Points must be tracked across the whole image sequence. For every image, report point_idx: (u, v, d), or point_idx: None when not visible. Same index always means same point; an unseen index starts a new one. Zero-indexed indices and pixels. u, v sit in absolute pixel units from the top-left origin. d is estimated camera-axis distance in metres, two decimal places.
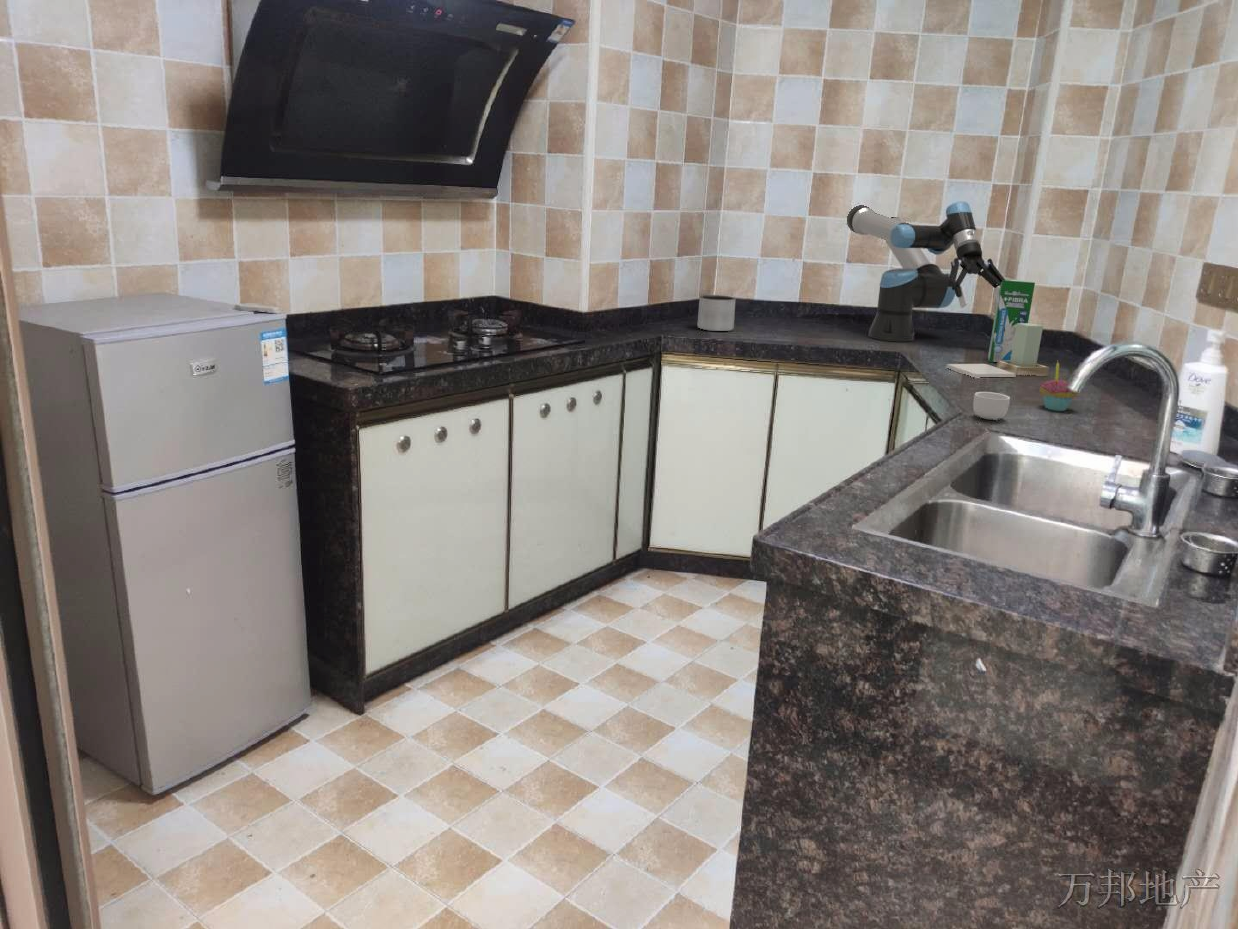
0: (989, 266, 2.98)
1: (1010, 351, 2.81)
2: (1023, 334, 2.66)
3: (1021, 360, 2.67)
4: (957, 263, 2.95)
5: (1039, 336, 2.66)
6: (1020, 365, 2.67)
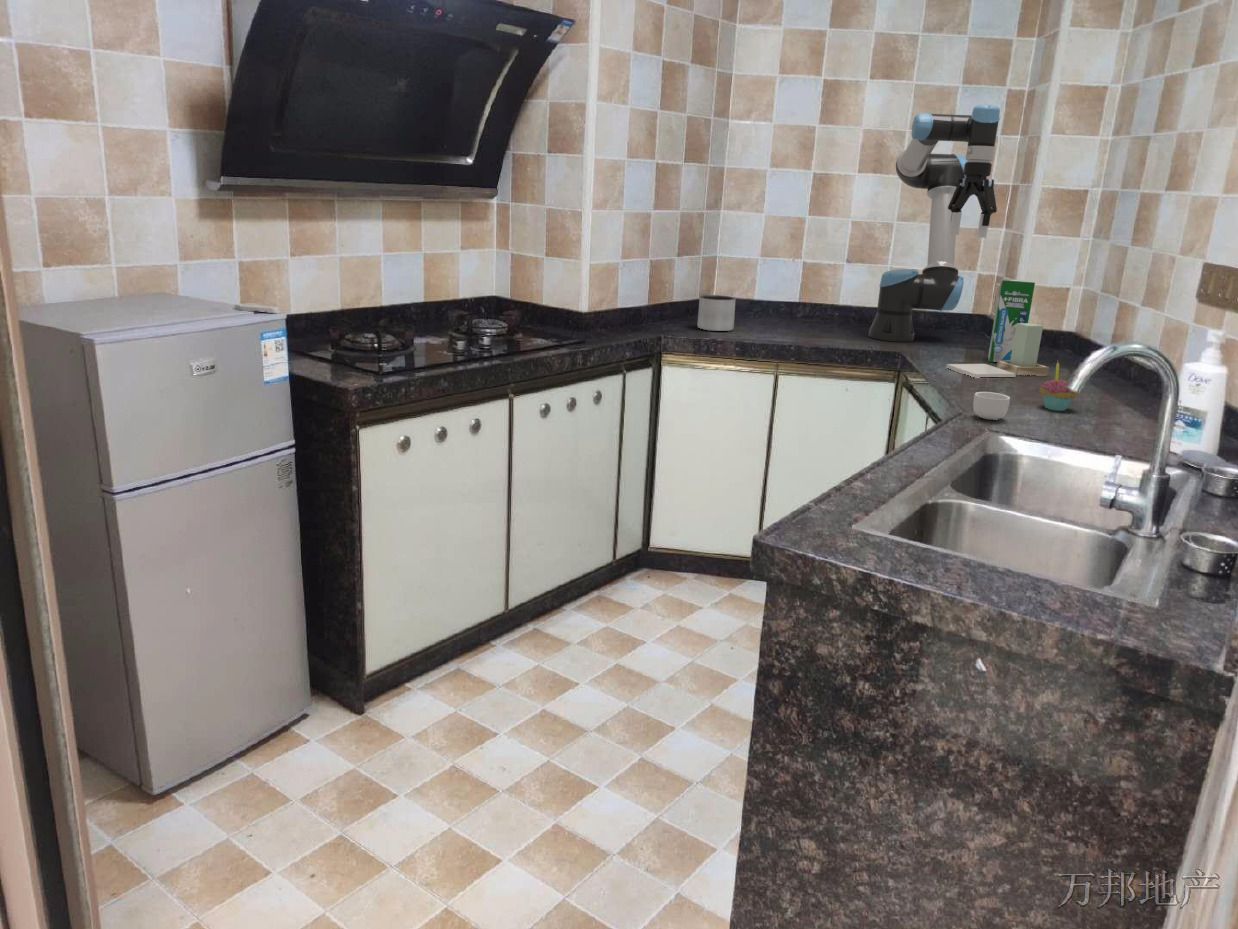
0: None
1: (1010, 351, 2.81)
2: (1023, 334, 2.66)
3: (1021, 360, 2.67)
4: (958, 185, 2.80)
5: (1039, 336, 2.66)
6: (1020, 365, 2.67)
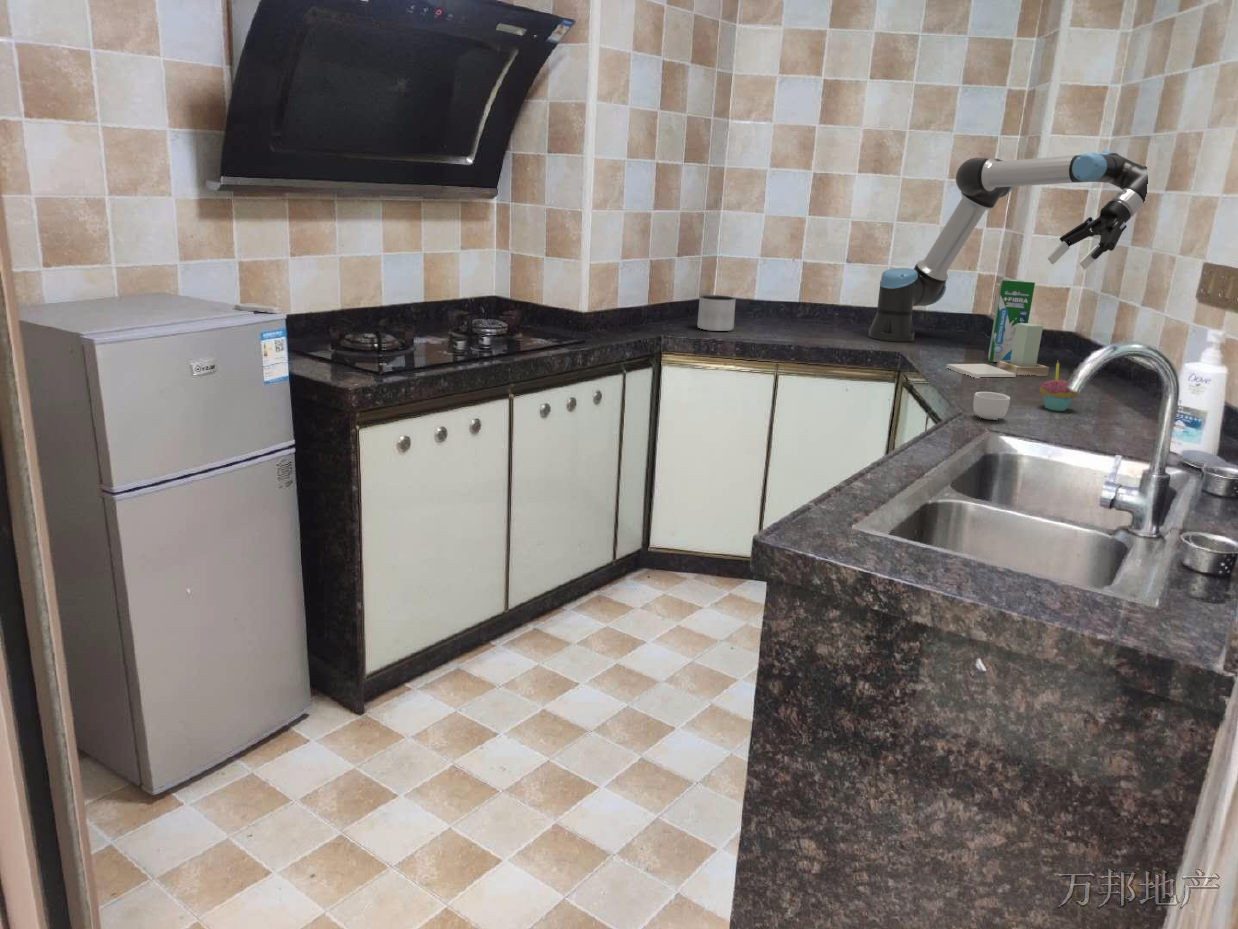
0: None
1: (1010, 351, 2.81)
2: (1023, 334, 2.66)
3: (1021, 360, 2.67)
4: (1085, 222, 2.69)
5: (1039, 336, 2.66)
6: (1020, 365, 2.67)
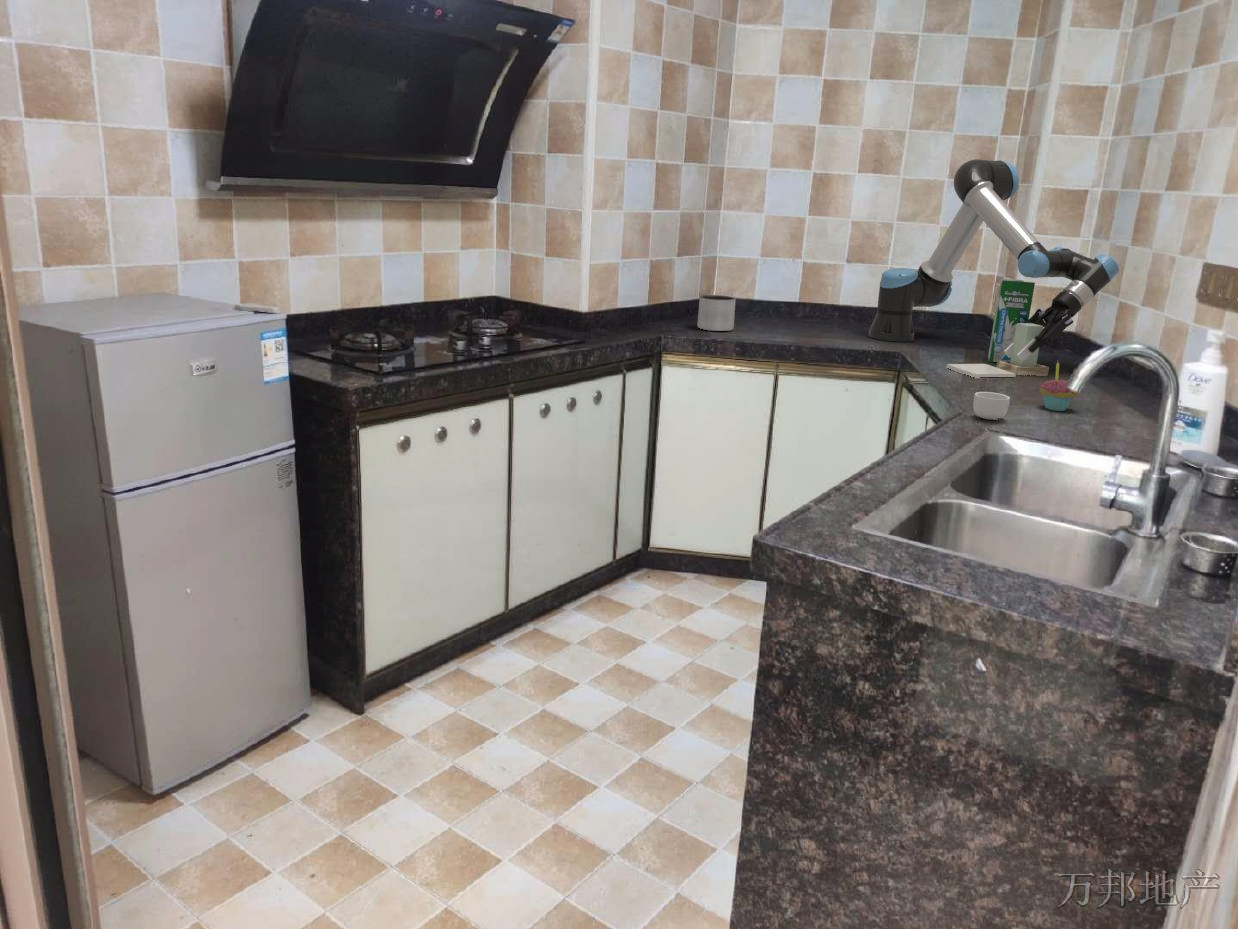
0: None
1: None
2: (1023, 334, 2.66)
3: None
4: (1036, 313, 2.72)
5: None
6: (1020, 365, 2.67)
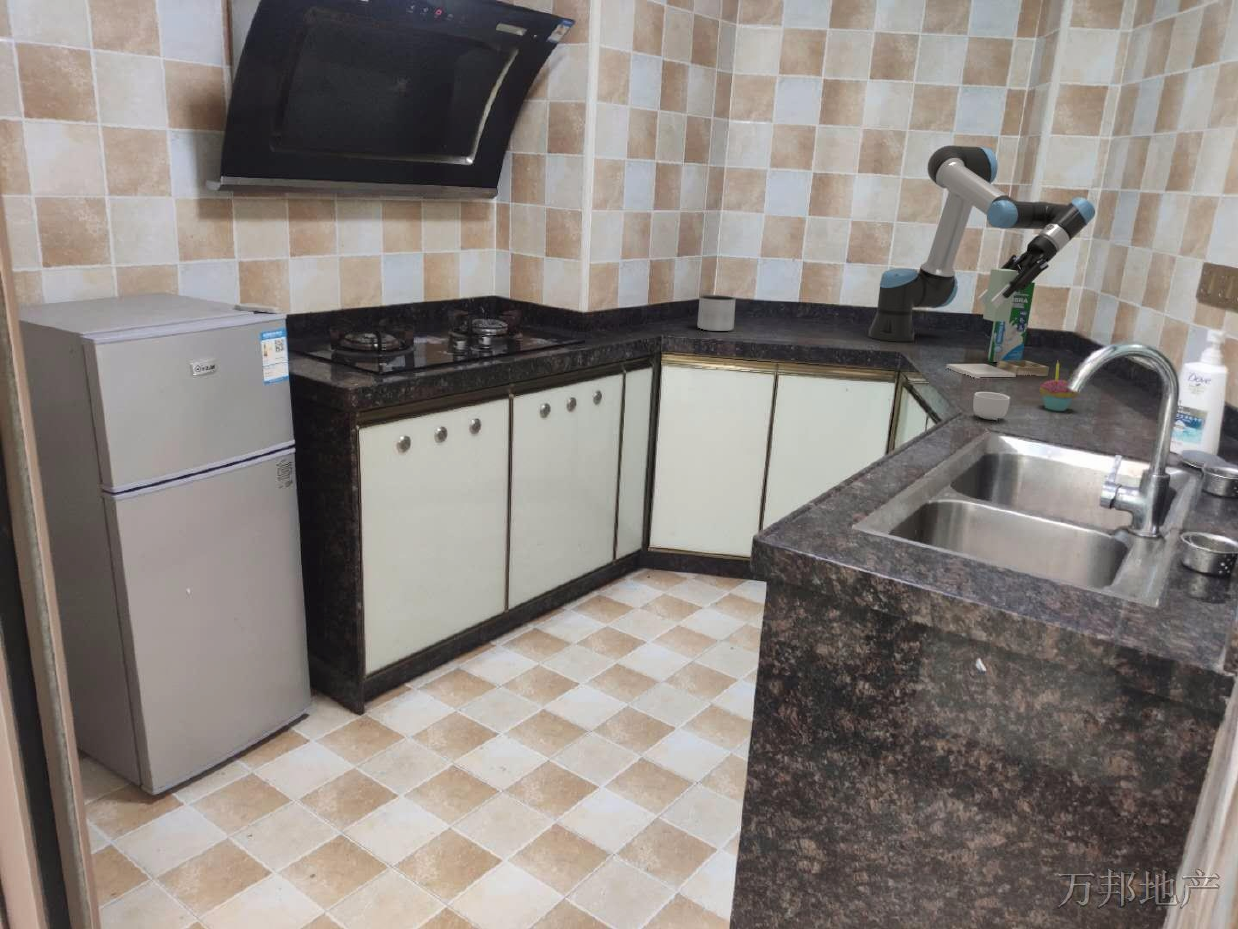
0: None
1: (1010, 351, 2.81)
2: (997, 279, 2.58)
3: None
4: (1010, 259, 2.65)
5: None
6: (994, 312, 2.60)
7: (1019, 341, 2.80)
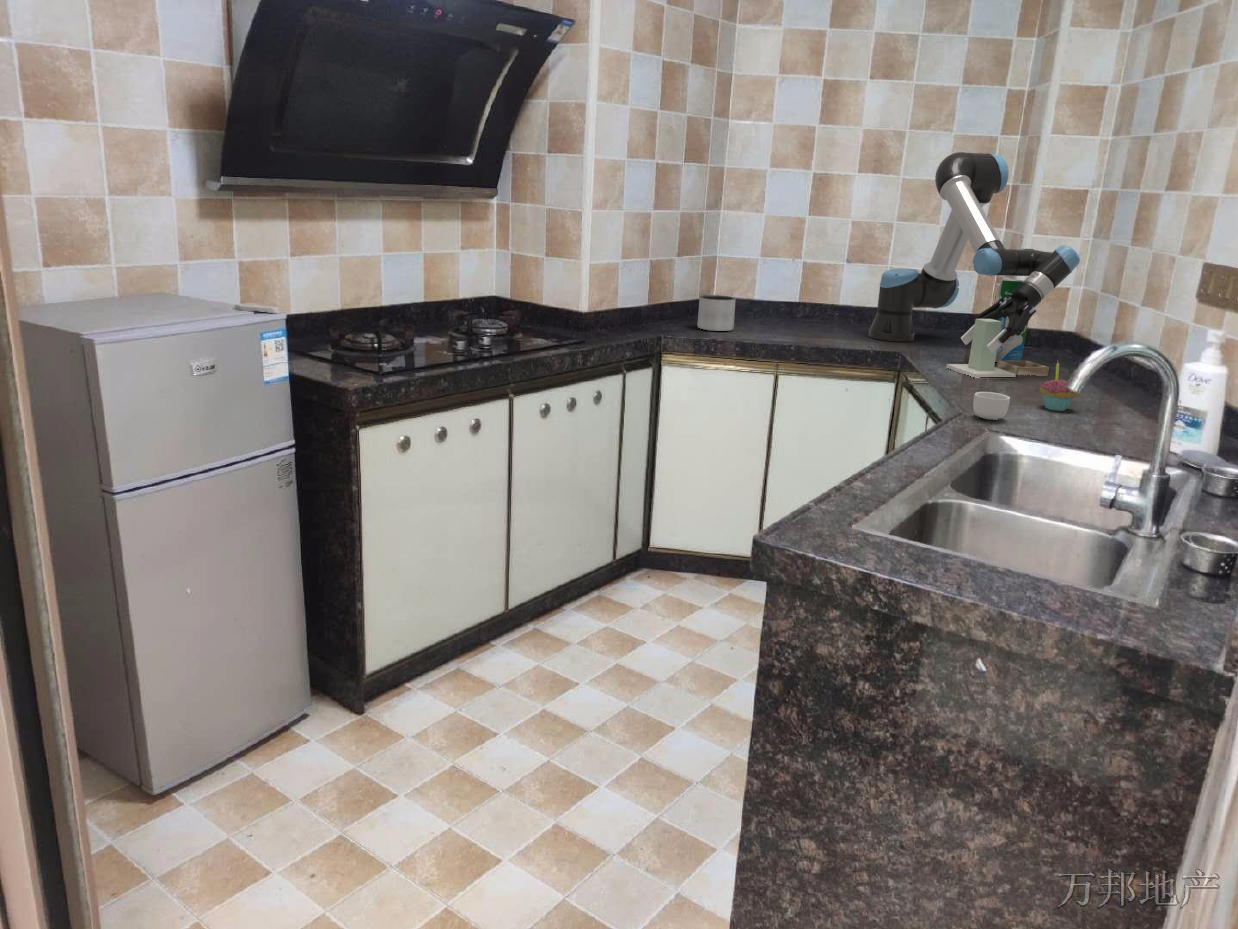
0: None
1: (1010, 351, 2.81)
2: (982, 330, 2.62)
3: (980, 356, 2.63)
4: (997, 303, 2.69)
5: (998, 332, 2.62)
6: (979, 361, 2.63)
7: (1019, 341, 2.80)
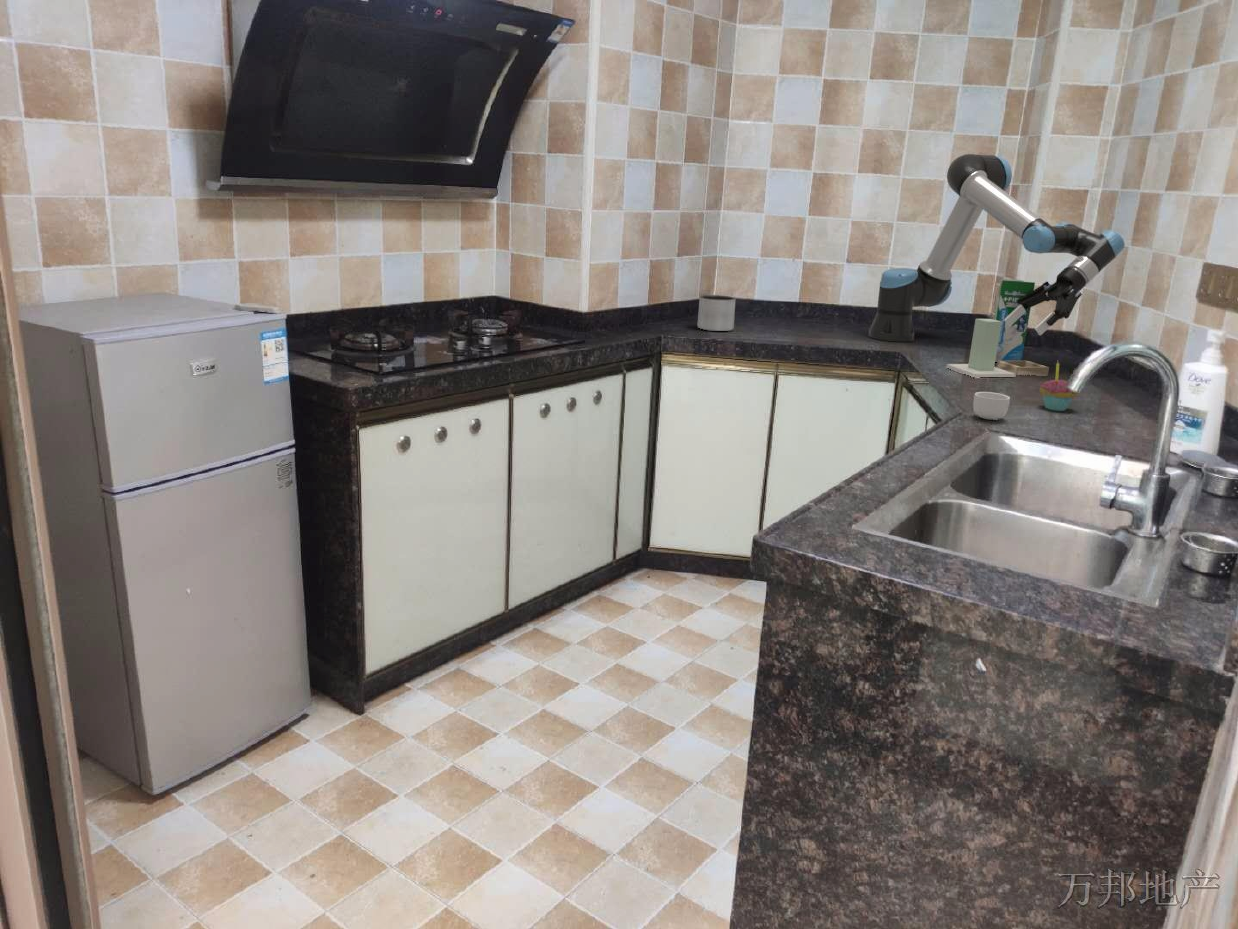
0: None
1: (1010, 351, 2.81)
2: (982, 330, 2.62)
3: (980, 356, 2.63)
4: (1041, 286, 2.71)
5: (998, 332, 2.62)
6: (979, 361, 2.63)
7: (1019, 341, 2.80)
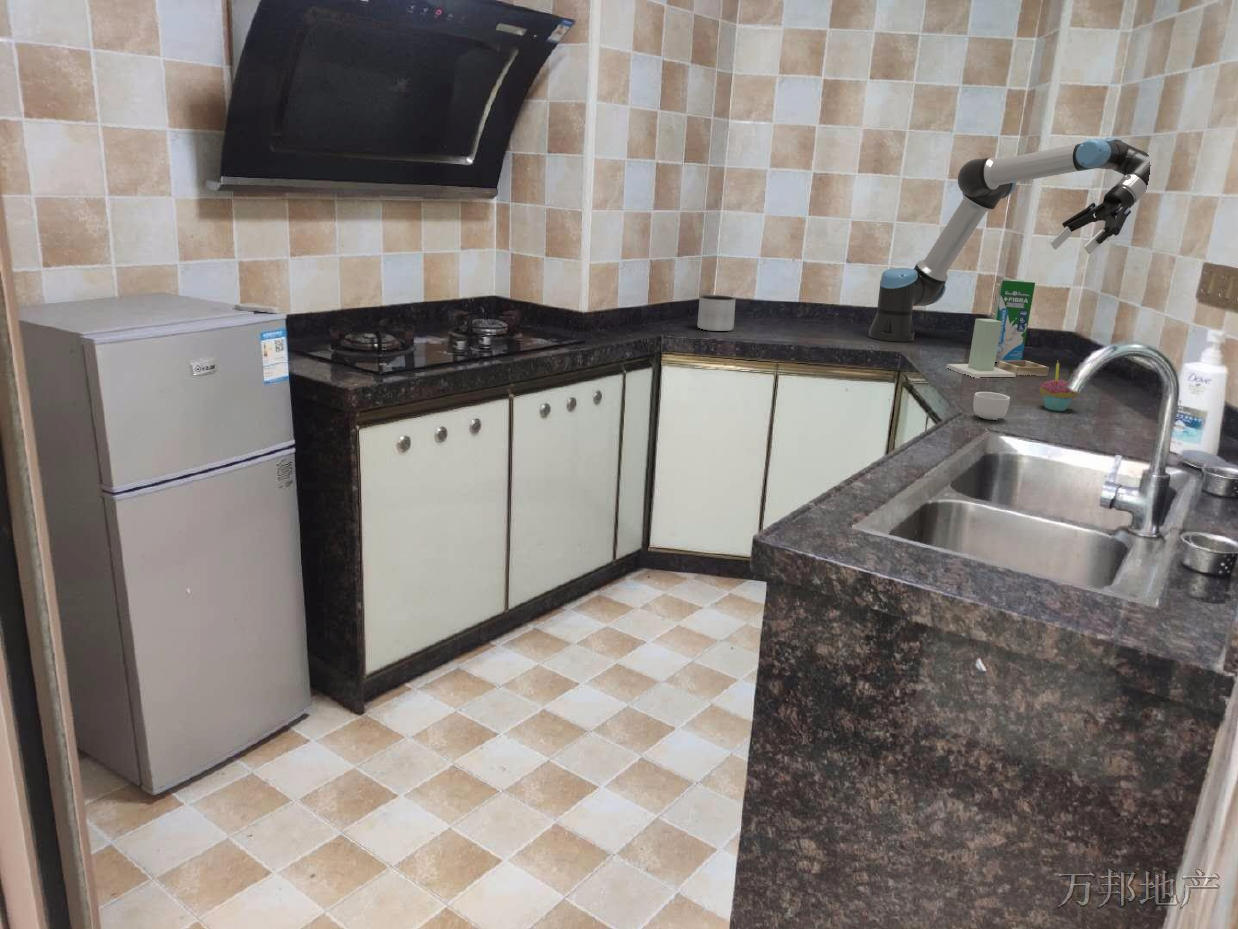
0: None
1: (1010, 351, 2.81)
2: (982, 330, 2.62)
3: (980, 356, 2.63)
4: (1088, 207, 2.67)
5: (998, 332, 2.62)
6: (979, 361, 2.63)
7: (1019, 341, 2.80)
